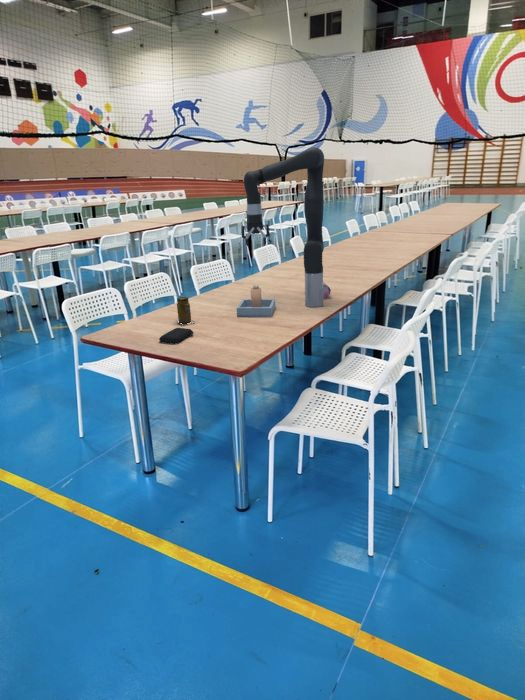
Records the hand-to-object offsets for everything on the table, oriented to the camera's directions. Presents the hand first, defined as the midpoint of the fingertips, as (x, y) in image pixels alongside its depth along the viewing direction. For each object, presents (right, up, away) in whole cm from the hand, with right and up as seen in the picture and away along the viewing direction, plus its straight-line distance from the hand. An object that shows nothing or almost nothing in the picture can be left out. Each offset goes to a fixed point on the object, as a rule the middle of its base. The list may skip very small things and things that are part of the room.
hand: (256, 245), depth 247 cm
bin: (0, -35, -7) cm, 36 cm away
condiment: (-34, -41, -17) cm, 56 cm away
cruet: (0, -34, -7) cm, 35 cm away
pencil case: (+35, -23, +20) cm, 46 cm away
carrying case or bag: (-34, -49, -38) cm, 71 cm away
